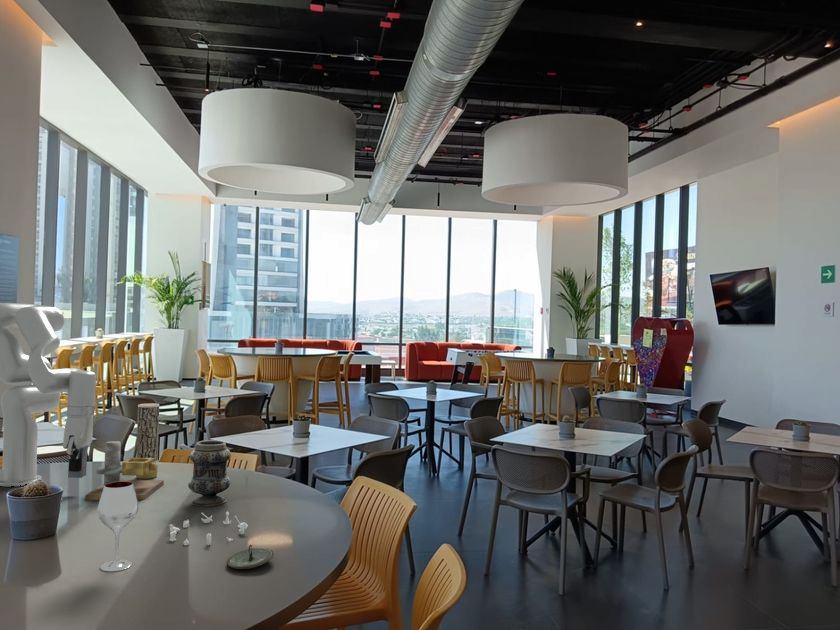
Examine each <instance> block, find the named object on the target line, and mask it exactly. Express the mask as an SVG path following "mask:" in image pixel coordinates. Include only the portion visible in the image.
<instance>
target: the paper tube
mask: <svg viewBox="0 0 840 630" xmlns="http://www.w3.org/2000/svg"><path fill="white" fill-rule="evenodd" d="M136 424H137V425H136V430H137V431H136V457H135V458H154V463H156V464H157V467H156V470H155V471H152V472H151V473H149V474H148V475H146V476H144V475H135V477H136V478H137V479H138V480H151V479H154V478H157V476H158V464H159V436H160V435H159V430H160V429H159V428H160V403H152V402H151V403H150V402H149V403H140V404H138V405H137V423H136Z"/></svg>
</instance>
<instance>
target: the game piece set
mask: <svg viewBox="0 0 840 630" xmlns="http://www.w3.org/2000/svg"><path fill="white" fill-rule="evenodd" d="M201 515H202V516H203V517H205V518H202V517H201V521H202V523H204V524H209V523H210V522H213V521H214V520H213V519H212V517H213V514H212V515H211V516H209V517H208V516H207V515H205V514H204V512H201ZM229 515H230V512H229V511H228V510H227V511H226V512H225V516H226V517H225V520H222V522H223V523H222V524H224V525H230V524H232V520H230V518H229ZM234 518H236V521H237V522H238V523H239V524H238V525H237V528H238V532H239V533H240V535H244V534H245V530H246V529H248V526H249V525H248V524H247V523H246V522H240V521H239V519H238V517H237V515H234ZM168 527H169V531H170V533H169V535H170V538H169V541H170V542H175V541H177V538H176V536H177V532H180V531H181V528H179V527H177V526H174V525H173V523H171V524H168ZM189 527H190V520H189V519H187V520H183V523H182V528H189ZM239 528H240V529H239ZM205 538H206V545H207V546H211V544H212V534H211V533H207V534H206V537H205ZM226 539H227V542H229V543H230V542H232V541H234V539H233V538H229V537H228V536H227V537H226ZM183 545H184V546H189V545H190V541H189V540H188V537H186V538H185V540H184V541H183Z"/></svg>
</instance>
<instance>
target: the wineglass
mask: <svg viewBox="0 0 840 630" xmlns="http://www.w3.org/2000/svg"><path fill="white" fill-rule="evenodd" d="M98 501H99V502H98V505H97V506H98V507H97V513H96V514H97V517H98V519H99V520H100V522H101V523H102V524H104V525H105V526H106V527H107V528H108V529H110V530H112V532H113V534H114V537H115V538H114V540H115V541H114V559H113V560H111V561H110V560H109V561H107V562H105V563H102V564H101V565H100V566H99V568H100V570H101V571H103V572H106V573H107V572H111V573H112V572H113V573H114V572H119V571H123V570H127V569H129V568H131V567H132V565H133V562H132V561H131V560H128V559H120V552H119V551H120V534H121V532H122V530H124V528H126V527H127V526H128V525H129V524H130V523H131V522H133V521H134V519H135V517H136V516H137V515H138V513H139V500H137V497H136V493H135V489H134V485H133V483H132V482H127V481H119V482H112V483H108V484H106V485H105V486H104V489H103V492H102V495H101V498H100V500H98Z"/></svg>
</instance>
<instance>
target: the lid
mask: <svg viewBox="0 0 840 630" xmlns="http://www.w3.org/2000/svg"><path fill="white" fill-rule="evenodd" d="M274 554H275V553H274V551H273V550H272V549H269V548H263V547H260V548H258V547H257V548H253V545H252V544H249V545H248V549H245V550H241V551H240V552H236V553H234V554H233V555H231V556H229V558H227V560H226V566H228V567H230V568H231V569H236V570H249V569H252V568H257V567H259V566H261V565H264V564H266V563H269V562H270V561H271V560H272V559H273V558H274V556H275V555H274Z"/></svg>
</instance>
